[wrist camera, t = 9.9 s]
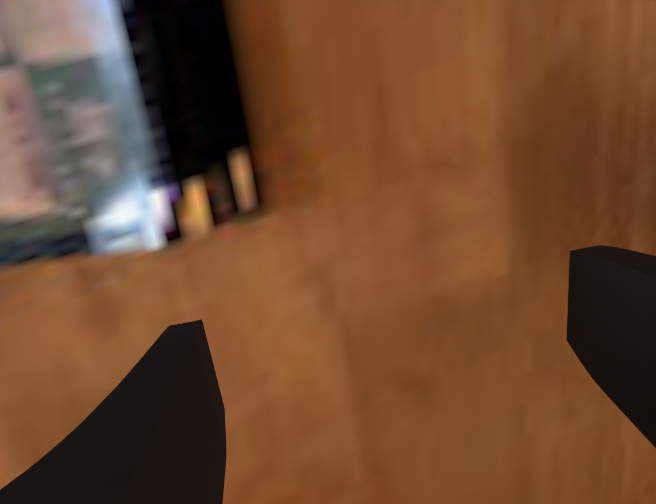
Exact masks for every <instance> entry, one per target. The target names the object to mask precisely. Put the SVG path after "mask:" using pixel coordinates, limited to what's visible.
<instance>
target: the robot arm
mask: <svg viewBox="0 0 656 504" xmlns="http://www.w3.org/2000/svg"><path fill="white" fill-rule="evenodd" d="M567 341H568V343H569V344H570V346H571V348H572V349H573V351H574V352H575V354H576V355H577V357H578V358H579V360H580V361H581V363H582V364H583V366H584V367H585V369H586V370H587V371H588V373H589V374H590V376H591V377H592V378H593V380H594V381H595V382H596V383H597V384H598V386H599V387H600V388H601V389H602V390H603V391H604V392H605V393H606V394H607V396H608V397H609V398H610V399H611V400H612V401H613V402H614V403H615V404H616V406H617V407H618V408H619V409H620V410H621V411H622V412H623V413H624V414H625V415H626V416H627V417H628V419H629V420H630V421H631V422H632V423H633V424H634V425H635V426H636V427H637V428H638V429H639V430H640V432H641V433H642V434H643V435H644V436H645V437H646V438H647V439H648V440H649V441H650V442H651V443H652V444H653V446H654V447H655V448H656V256H652V255H648V254H644V253H640V252H635V251H631V250H626V249H621V248H616V247H610V246H601V245H599V246H594V247H588V248H583V249H578V250H572V251H570V263H569V291H568V319H567ZM225 467H226V430H225V409H224V405H223V401H222V397H221V393H220V389H219V385H218V381H217V377H216V373H215V369H214V365H213V361H212V357H211V353H210V350H209V346H208V342H207V338H206V334H205V330H204V326H203V322H202V320H198V321H193V322H187V323H182V324H177V325H171V326H169V327H168V328H167V329H166V330H165V331H164V332H163V333H162V334H161V335H160V337H159V338H158V339H157V340H156V341H155V343H154V344H153V345H152V346H151V347H150V349H149V350H148V351H147V352H146V353H145V355H144V356H143V357H142V358H141V359H140V361H139V362H138V363H137V364H136V365H135V366H134V367H133V369H132V370H131V371H130V372H129V373H128V374H127V376H126V377H125V378H124V379H123V380H122V381H121V382H120V384H119V385H118V386H117V387H116V388H115V389H114V390H113V391H112V392H111V393H110V394H109V395H108V396H107V397H106V398H105V399H104V400H103V401H102V402H101V403H100V404H99V405H98V406H97V408H96V409H95V410H94V411H93V412H92V413H91V414H90V415H89V416H88V417H87V418H86V419H85V420H84V421H83V422H82V423H81V424H80V425H79V426H78V427H77V428H76V429H74V430H73V431H72V432H71V433H70V434H69V435H68V436H67V437H66V438H65V439H63V440H62V441H61V442H60V443H59V444H58V445H57V446H55V447H54V448H53V449H52V450H51V451H49V452H48V453H47V454H46V455H45V456H44V457H42V458H41V459H40V460H39V461H38V462H36V463H35V464H34V465H33V466H31V467H30V468H29V469H28V470H26V471H25V472H24V473H22V474H21V475H20V476H18V477H17V478H16V479H14V480H13V481H12V482H10V483H9V484H7V485H6V486H5V487H3V488H2V489H1V490H0V504H222V501H223V490H224V479H225Z"/></svg>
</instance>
